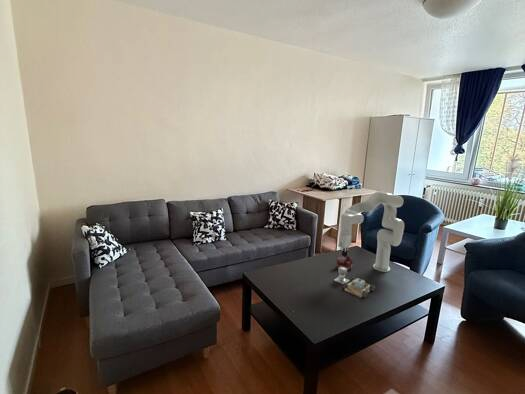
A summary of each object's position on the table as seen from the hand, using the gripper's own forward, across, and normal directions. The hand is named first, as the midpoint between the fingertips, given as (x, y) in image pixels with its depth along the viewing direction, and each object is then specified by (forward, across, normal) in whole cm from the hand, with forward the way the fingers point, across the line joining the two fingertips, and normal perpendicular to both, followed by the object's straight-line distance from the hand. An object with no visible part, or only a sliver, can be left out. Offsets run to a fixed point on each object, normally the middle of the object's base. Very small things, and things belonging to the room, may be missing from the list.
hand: (344, 255), depth 194 cm
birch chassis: (+19, +3, +14) cm, 24 cm away
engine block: (+18, +3, +14) cm, 23 cm away
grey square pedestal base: (+19, +1, 0) cm, 19 cm away
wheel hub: (+13, +1, 0) cm, 13 cm away
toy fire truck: (+20, -18, -9) cm, 28 cm away
